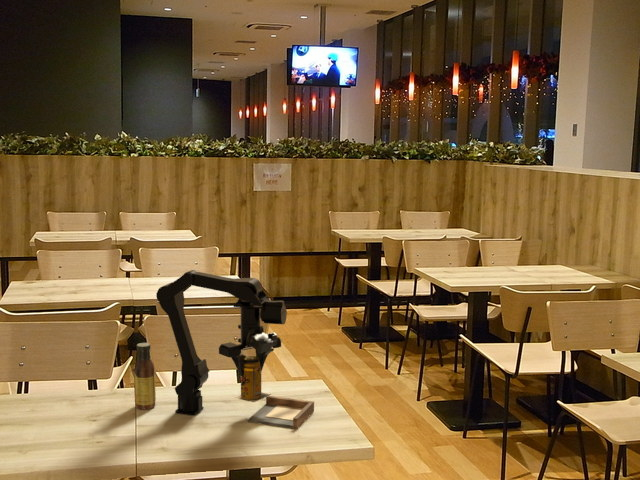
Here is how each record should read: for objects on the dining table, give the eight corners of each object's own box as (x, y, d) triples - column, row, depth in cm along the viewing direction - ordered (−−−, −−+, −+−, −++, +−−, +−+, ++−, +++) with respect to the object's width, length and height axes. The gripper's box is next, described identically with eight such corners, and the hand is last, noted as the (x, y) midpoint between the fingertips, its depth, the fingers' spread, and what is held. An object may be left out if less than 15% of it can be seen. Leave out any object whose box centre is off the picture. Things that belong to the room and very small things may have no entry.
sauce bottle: (142, 402, 246) (141, 340, 243) (159, 405, 244) (159, 342, 241) (130, 409, 240) (129, 345, 237) (147, 412, 238) (146, 347, 235)
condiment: (234, 398, 233) (234, 358, 231) (253, 390, 240) (253, 352, 238) (253, 403, 229) (253, 362, 227) (272, 395, 236) (272, 356, 234)
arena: (248, 421, 231) (248, 412, 231) (267, 404, 246) (267, 395, 245) (297, 428, 227) (297, 418, 226) (314, 411, 241) (314, 401, 241)
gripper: (239, 332, 219) (239, 387, 221) (292, 322, 231) (292, 374, 233) (217, 325, 227) (218, 377, 229) (270, 315, 239) (270, 365, 241)
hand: (250, 374), depth 233 cm, fingers closed on condiment, 6 cm apart
